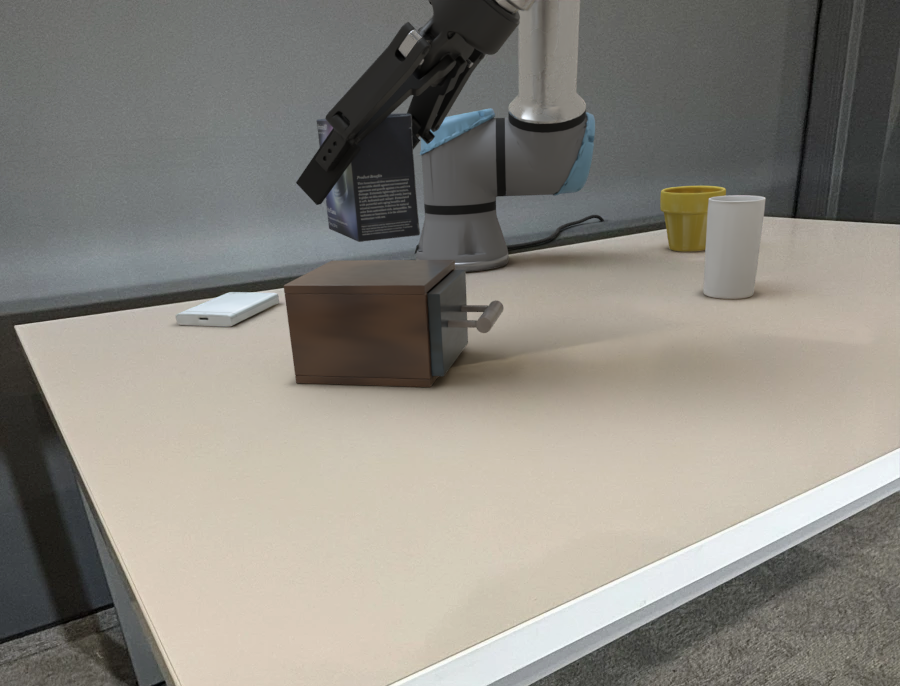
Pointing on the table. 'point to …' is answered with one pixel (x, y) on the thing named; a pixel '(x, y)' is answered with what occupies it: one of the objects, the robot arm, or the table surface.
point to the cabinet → (363, 322)
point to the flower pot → (687, 215)
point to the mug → (732, 245)
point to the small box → (376, 184)
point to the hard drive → (227, 309)
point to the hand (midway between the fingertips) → (342, 186)
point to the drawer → (454, 320)
